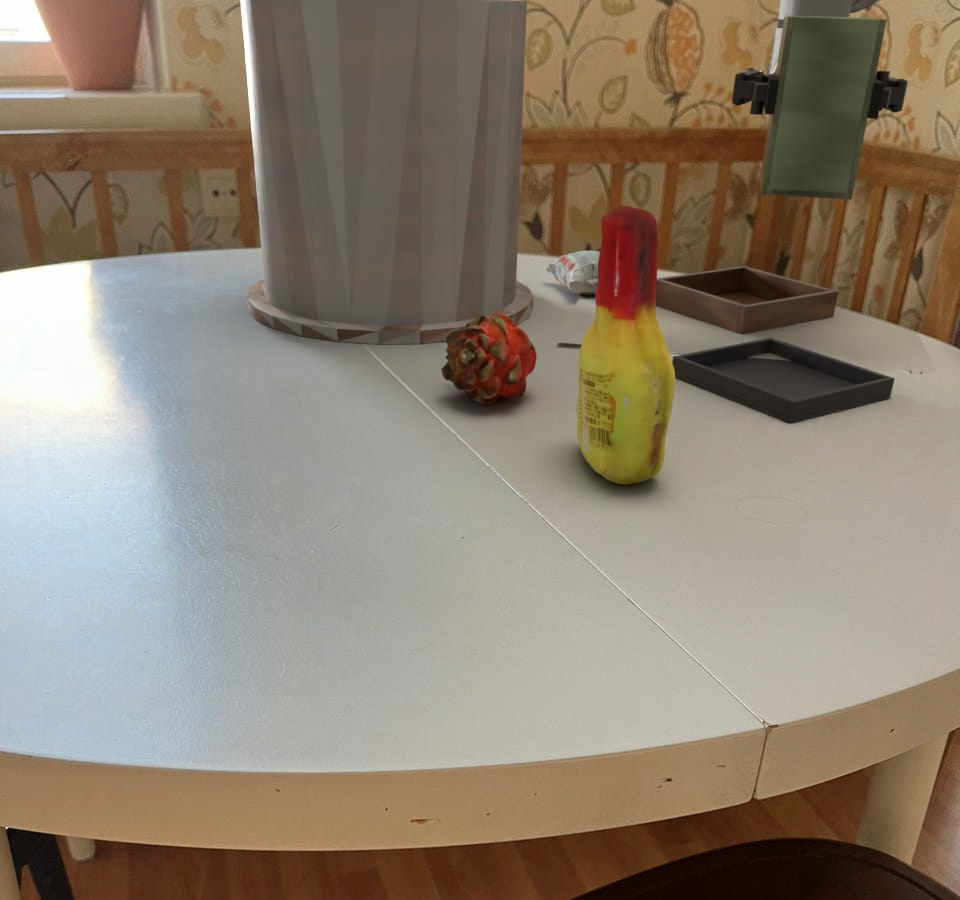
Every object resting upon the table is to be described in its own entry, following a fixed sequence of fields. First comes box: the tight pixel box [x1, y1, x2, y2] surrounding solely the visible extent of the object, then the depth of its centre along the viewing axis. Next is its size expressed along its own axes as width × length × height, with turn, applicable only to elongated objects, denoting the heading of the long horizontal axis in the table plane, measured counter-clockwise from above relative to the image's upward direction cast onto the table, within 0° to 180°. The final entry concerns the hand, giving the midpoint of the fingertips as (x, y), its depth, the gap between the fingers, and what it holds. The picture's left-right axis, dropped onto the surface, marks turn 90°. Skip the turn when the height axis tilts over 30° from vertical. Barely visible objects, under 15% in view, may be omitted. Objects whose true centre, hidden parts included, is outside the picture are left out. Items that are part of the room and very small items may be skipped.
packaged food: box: [544, 250, 600, 296], centre depth 135 cm, size 9×12×5 cm
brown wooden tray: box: [656, 265, 839, 335], centre depth 128 cm, size 16×16×4 cm
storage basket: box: [240, 0, 534, 345], centre depth 121 cm, size 35×35×32 cm
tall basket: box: [759, 15, 887, 200], centre depth 95 cm, size 8×8×14 cm
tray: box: [671, 337, 895, 424], centre depth 104 cm, size 16×14×2 cm
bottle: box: [576, 205, 676, 486], centre depth 81 cm, size 12×6×20 cm, turn 13°
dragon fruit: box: [440, 313, 537, 406], centre depth 99 cm, size 8×8×12 cm
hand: (823, 99), depth 90 cm, fingers closed on tall basket, 8 cm apart
